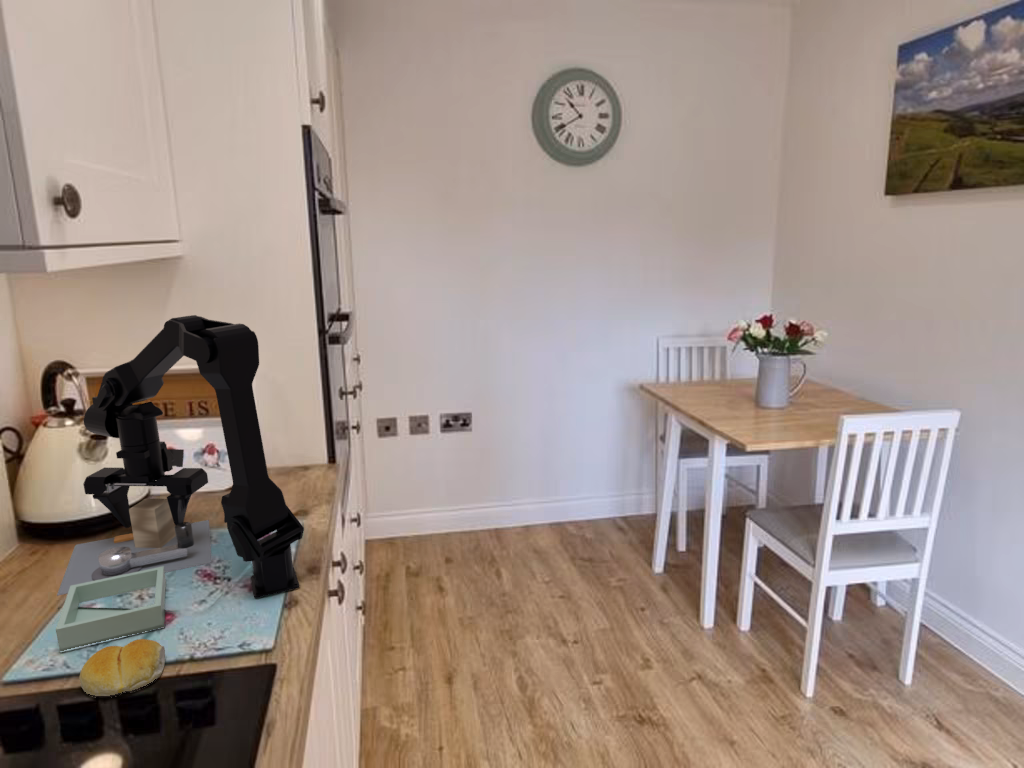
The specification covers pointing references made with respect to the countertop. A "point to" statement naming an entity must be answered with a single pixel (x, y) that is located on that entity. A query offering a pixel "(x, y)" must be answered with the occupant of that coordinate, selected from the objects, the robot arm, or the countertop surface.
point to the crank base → (86, 554)
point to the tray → (110, 610)
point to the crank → (146, 553)
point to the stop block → (152, 523)
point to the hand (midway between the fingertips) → (154, 527)
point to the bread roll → (122, 668)
